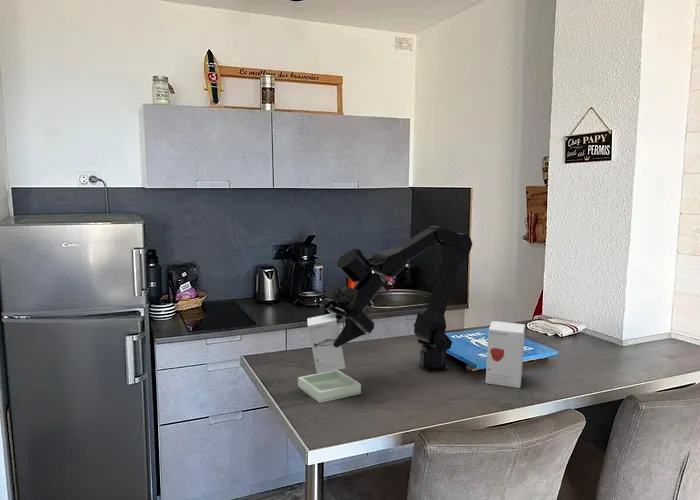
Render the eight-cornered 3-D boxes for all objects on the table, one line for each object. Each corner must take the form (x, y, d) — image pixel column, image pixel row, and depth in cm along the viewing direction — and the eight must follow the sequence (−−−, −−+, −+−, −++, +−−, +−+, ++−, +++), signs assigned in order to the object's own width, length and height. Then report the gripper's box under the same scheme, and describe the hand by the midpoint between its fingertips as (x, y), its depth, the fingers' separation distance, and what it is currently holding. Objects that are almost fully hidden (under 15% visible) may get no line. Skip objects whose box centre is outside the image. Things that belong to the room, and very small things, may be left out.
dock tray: (337, 378, 144) (337, 369, 143) (360, 393, 134) (361, 383, 133) (298, 386, 137) (298, 377, 137) (319, 402, 128) (319, 392, 127)
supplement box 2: (484, 383, 142) (487, 328, 140) (488, 372, 150) (490, 320, 148) (520, 388, 138) (524, 332, 137) (522, 377, 147) (525, 323, 145)
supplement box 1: (316, 375, 131) (306, 325, 129) (316, 364, 138) (306, 317, 136) (346, 368, 131) (336, 319, 129) (344, 358, 138) (335, 311, 137)
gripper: (325, 267, 142) (288, 314, 138) (364, 279, 126) (323, 331, 122) (351, 293, 147) (315, 339, 143) (391, 307, 131) (352, 359, 127)
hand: (325, 341), depth 133 cm, fingers closed on supplement box 1, 9 cm apart
